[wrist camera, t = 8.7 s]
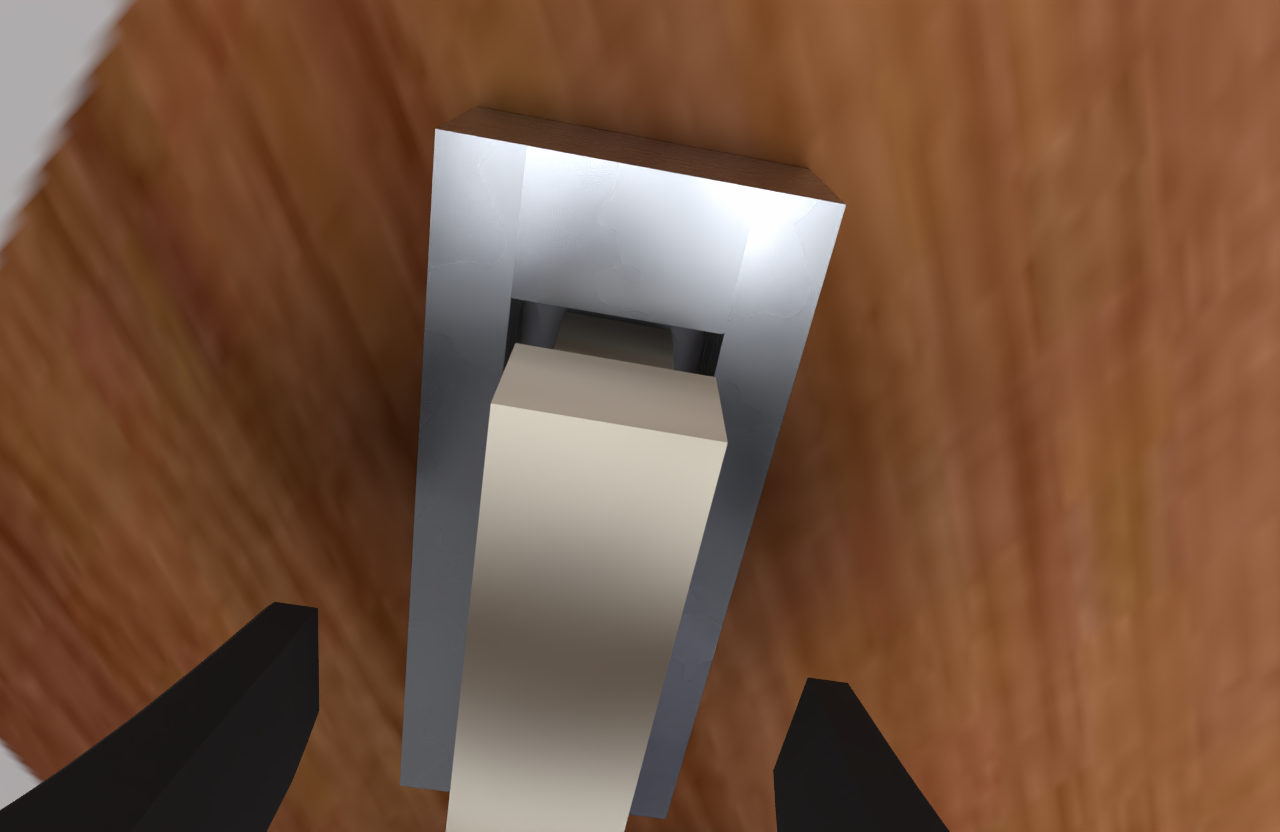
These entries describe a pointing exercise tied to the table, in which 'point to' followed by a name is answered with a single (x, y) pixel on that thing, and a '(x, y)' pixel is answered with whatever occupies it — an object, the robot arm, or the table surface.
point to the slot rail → (611, 289)
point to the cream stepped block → (579, 574)
